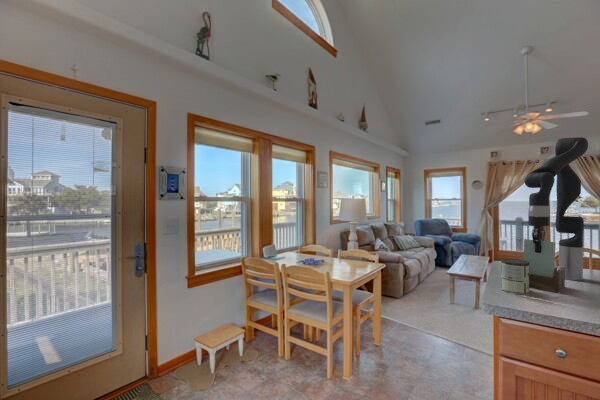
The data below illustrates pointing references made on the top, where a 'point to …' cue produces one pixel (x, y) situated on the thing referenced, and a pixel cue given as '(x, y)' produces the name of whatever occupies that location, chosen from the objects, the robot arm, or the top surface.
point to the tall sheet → (540, 258)
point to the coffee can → (515, 276)
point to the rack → (548, 281)
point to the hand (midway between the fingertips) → (538, 252)
